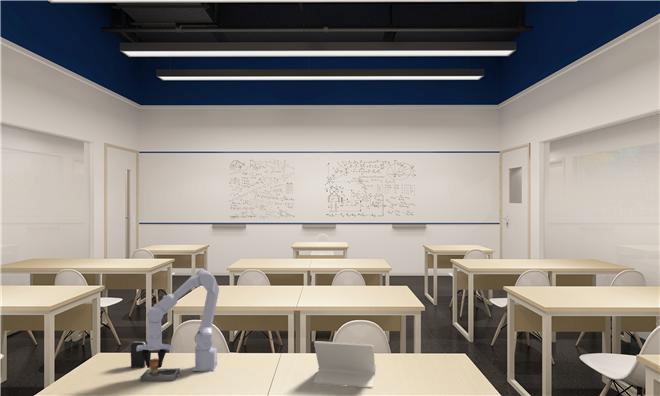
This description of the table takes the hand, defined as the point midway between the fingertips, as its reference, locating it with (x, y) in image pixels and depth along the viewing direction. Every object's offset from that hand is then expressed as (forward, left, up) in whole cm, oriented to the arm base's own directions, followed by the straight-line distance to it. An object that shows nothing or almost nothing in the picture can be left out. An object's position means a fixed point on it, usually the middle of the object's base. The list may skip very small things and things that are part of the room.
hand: (154, 367), depth 179 cm
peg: (0, 0, -4) cm, 4 cm away
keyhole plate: (-3, 0, -4) cm, 5 cm away
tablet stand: (-82, +4, -5) cm, 83 cm away
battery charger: (+11, -13, -5) cm, 18 cm away
